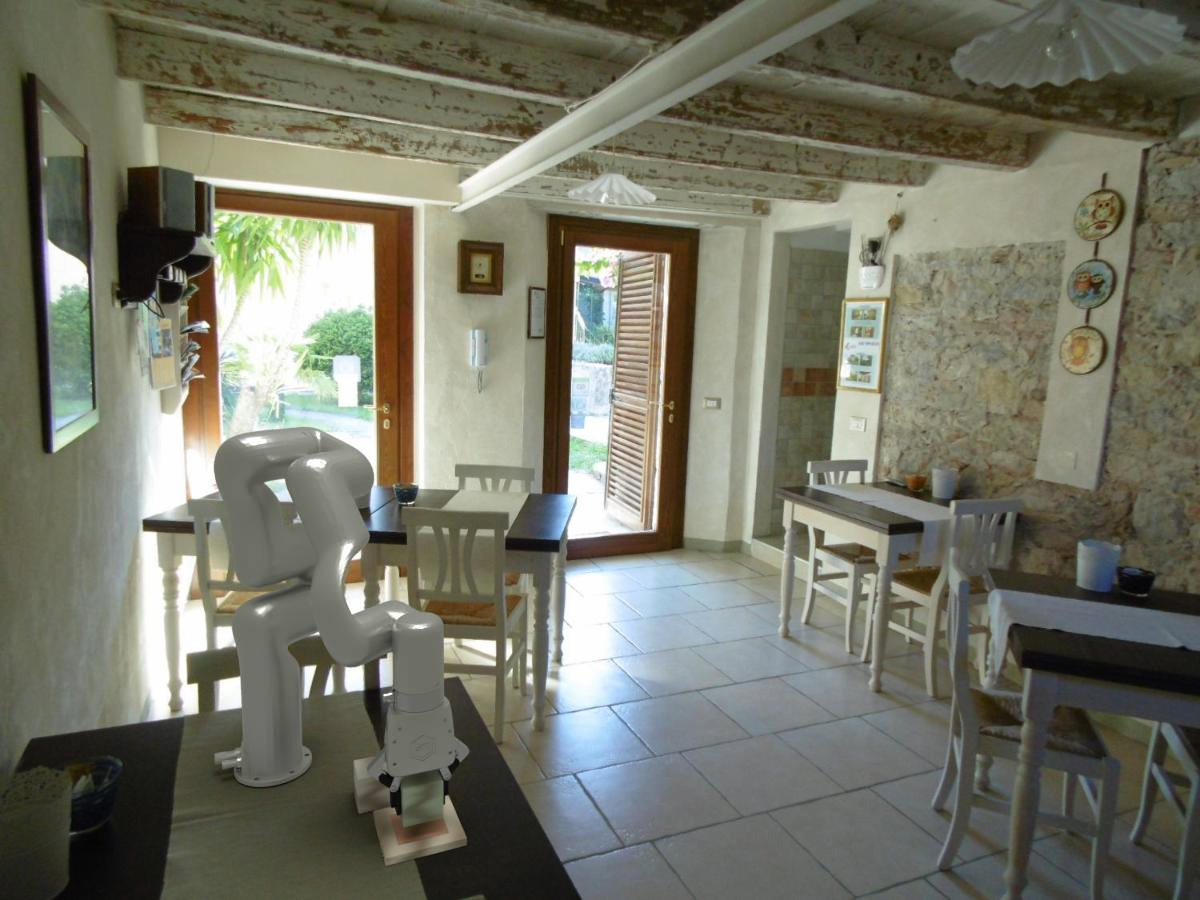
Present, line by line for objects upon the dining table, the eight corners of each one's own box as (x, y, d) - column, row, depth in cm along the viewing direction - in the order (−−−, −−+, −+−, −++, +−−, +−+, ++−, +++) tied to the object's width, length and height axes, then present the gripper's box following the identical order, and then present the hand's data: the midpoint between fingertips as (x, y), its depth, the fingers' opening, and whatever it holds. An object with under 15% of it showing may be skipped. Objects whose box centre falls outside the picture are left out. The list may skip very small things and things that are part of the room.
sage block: (403, 827, 112) (403, 790, 111) (396, 804, 117) (396, 769, 117) (443, 817, 115) (443, 781, 114) (434, 796, 120) (434, 761, 119)
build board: (385, 866, 109) (385, 857, 108) (373, 817, 119) (373, 810, 119) (466, 845, 114) (466, 837, 114) (447, 800, 124) (448, 793, 124)
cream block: (358, 814, 120) (358, 779, 120) (354, 793, 126) (353, 760, 125) (396, 805, 123) (396, 771, 122) (390, 785, 128) (390, 753, 127)
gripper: (362, 717, 106) (365, 833, 109) (481, 696, 114) (480, 805, 116) (356, 694, 113) (358, 804, 116) (468, 675, 120) (467, 780, 123)
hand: (419, 804), depth 116 cm, fingers closed on sage block, 6 cm apart
